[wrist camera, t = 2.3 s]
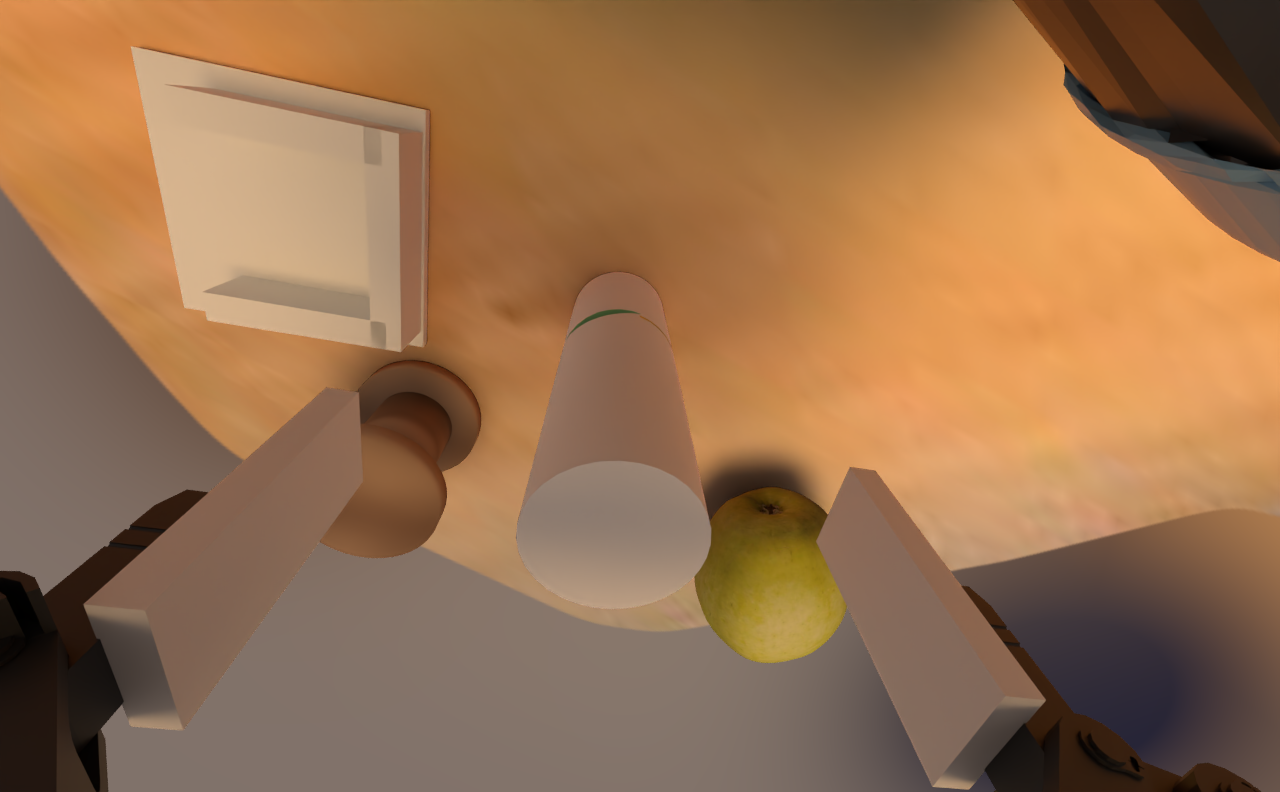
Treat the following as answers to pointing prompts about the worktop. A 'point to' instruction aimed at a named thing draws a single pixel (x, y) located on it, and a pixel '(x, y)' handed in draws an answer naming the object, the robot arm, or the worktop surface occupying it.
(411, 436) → the wooden cabinet knob
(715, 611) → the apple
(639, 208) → the worktop surface
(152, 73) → the notch board
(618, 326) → the tube
